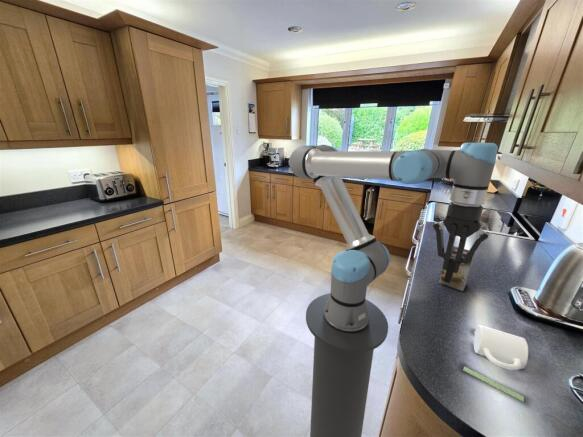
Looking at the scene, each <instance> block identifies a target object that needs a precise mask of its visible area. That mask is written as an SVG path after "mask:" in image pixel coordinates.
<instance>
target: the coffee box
mask: <svg viewBox="0 0 583 437" xmlns="http://www.w3.org/2000/svg"><path fill="white" fill-rule="evenodd" d="M457 250H458V246H455V245H454V246H453V250H452V254H451V258H450V259H454V260H455V258H456V254H457ZM469 250H470V249H466V248H464V252H463V256H462V257H465V256H466V255H467V253H468V252H469ZM475 253H476V252H475ZM475 253H474V254H473V256H472V258H471V259H470V261H469V262H468V263H467V264H464V263H461V264H460V267H459V271H458V272H457V273H453V276H452V280H451V282H450V283H447V282H444V278H445V274H446V270H443V268H442V269H441V272H440V276H439V281H438V283H439V284H441V285H444V286H447V287H449V288H453V289H456V290H459V291H460V292H464V290H465V288H466V284H467V281H468V278H469V275H470V271H471V267H472V264H473V260H474V257H475Z"/></svg>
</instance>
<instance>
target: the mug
mask: <svg viewBox="0 0 583 437" xmlns="http://www.w3.org/2000/svg"><path fill="white" fill-rule="evenodd" d="M473 349H474V352H475V353H476V354H477V355H480V356H482V357H486V358H487V360H488V361H489V362H491V363H492V364H493V365H495V366H497V367H499V368H502V369H504V370H508V371H518V370H522V369H524V368H525V367H526V366H527V363H528V359H529V345H528V342H527V340H526V338H524V337H523V336H522V337H521V336H519V335H515V334H512V333H509V332H505V331H502V330H499V329H495V328H492V327H489V326H485V325H483V324H477V326H476V328H475V334H474V336H473Z"/></svg>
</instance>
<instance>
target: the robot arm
mask: <svg viewBox="0 0 583 437" xmlns="http://www.w3.org/2000/svg"><path fill="white" fill-rule="evenodd" d="M498 150H499V146H498V145H497V144H496V143H494V142H463V143H462V144H461V146H460V148H459V149H454V150H450V149H449V150H448V149H429V148H421V149H413V150H399V151H398V150H392V151H391V150H371V151H370V150H365V151H364V150H362V151H361V150H357V151H354V150H353V151H352V150H351V151H344V150H343V151H342V150H341V151H339V150H338V149H337V148H335V147H334V146H332V145H328V144H318V145H300V146H298V147H296V148H295V149H294V150H293V151H292V153H291V154H290V156H289V162H288V163H289V168H290V171H291V172H292V173H293V174H294V176H296V177H298V178H300V179H312V182H313V184H314V186H316V187H319V188H320V189H321V191H322V193H323V196H324V198H325V200H326V202H327V203H328V206H329V208H330V210H331V212H332V214H333V217H334V219H335V221H336V223H337V225H338V227H339V229H340V231H341V233H342V235H343V237H344V240H345V242H346V247H345V250H342V251H339V252H338V253H336V254H335V255H334V257H333V259H332V264H331V278H330V297H329V299H328V301H327V303H326V305H325V308H324V318H325V320H326V322H327V323H328V324H329V325H330V326H331V327H332V328H334V329H336V330H338V331H341V332H345V333H357V332H360V331H362V330H364V329H365V328H366V327H367V325H368V321H369V314H368V310H367V306H366V302H365V299H366V297H367V291H368V290H367V289H368V286H369V285H370V284H371V283H373V282H374V281H375V280H376V279H377V278H378V277H380V276H381V275H382V274H384V272H386V270H387V269H388V268H389V266H390V262H391V255H390V251H389V250H388V248H387V247H386V246H385V245H384V244H383V243H381V242H379V241H378V240H377V238H376V236H374V235H372V234H370V233H369V231H368V229H367V228H366V225H365V223H364V222H363V219H362V218H361V215H360V213H359V211H358V209H357V208H356V205H355V203H354V201H353V198H352V197H351V194H350V193H349V191H348V189H347V187H346V184H345V182H344V180H343V179H342V178H352V179H364V180H366V179H367V180H381V181H393V182H400V183H401V184H404V185H416V184H420V183H423V182H424V181H427V180H429V179H447V180H453V184H452V189H451V192H450V198H449V200H450V202H449V203H448V206H447V211H446V216H445V217H444V218H443V220H442V221H436V222H435V223H434V224H433V225H432V227H433V229H434V231H435V236H436V238H435V240H436V249H437V256H438V257H440V258H442V259H443V264H442V268H443V270H446V274H445V278H444V282H447V283H450V282H451V280H452V276H453V273H457V272H458V271H459V267H460V264H461V263H464V264H467V263H468V262H469V261H470V259H471V258H472V256H473V254H474V253H476V252H477V250H478V249H479V247H480V245H481V244H482V243H483V242H484V241H485V240H487V239H488V238H489V236H490V233H489V232H488V231H485V230H484V229H483V228H482V227H481V226H482V225H481V219H482V214H483V210H484V207H483V205H484V204H485V203H486V199H487V195H488V191H489V187H490V183H491V180H492V176H493V172H494V169H495V165H496V160H497V155H498ZM444 228H445V229H446V231H447V233H448V234H449V235H448V241H447V245H446V248H445V240H444V230H443V229H444ZM475 233H476V237H477V238H476V239H475V241H474V242H473V243H472V245H471V247H470V249H468V250H469V252H468V253H467V255H466V256H465V257H462V256H463V252H464V249H465V248H466V243H467V239H468V238H469V237H471V236H472V235H474V234H475ZM456 237H459V242H458V245H457V247H458V250H457V254H456V258H455V260H454V259H450V258H451V254H452V250H453V246H455V242H456ZM474 255H475V254H474Z"/></svg>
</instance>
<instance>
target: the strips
mask: <svg viewBox="0 0 583 437" xmlns="http://www.w3.org/2000/svg"><path fill="white" fill-rule="evenodd" d="M475 331H476V329H474V330H473V334H474V335H475ZM462 371H463V372H464V373H467V374H469V375H471V376H473V377H474V378H476V379H478V380H480V381H482V382H484V383H486V384H488V385H489V386H491V387H494V388H496V389H497V390H499V391H501V392H503V393H505V394H507V395H509V396H511V397H512V398H515V399H517V400H519V401H520V402H525V396H523V395H522V394H520V393H518V392H516V391H514V390H512V389H510V388H508V387H506V386H504V385H502V384H500V383H498V382H497V381H494V380H492V379H490V378H489V377H487V376H484V375H482V374H480V373H478V372H476V371H475V370H472V369H470V368H469V367H467V366H463V369H462Z"/></svg>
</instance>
